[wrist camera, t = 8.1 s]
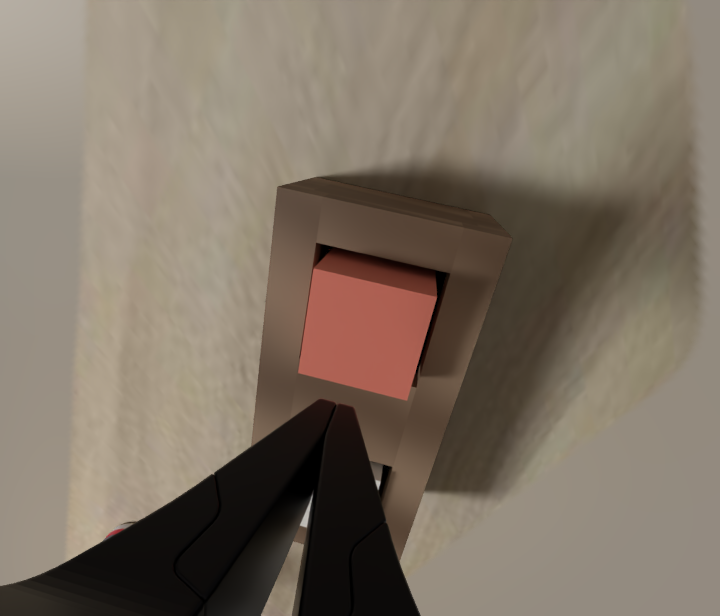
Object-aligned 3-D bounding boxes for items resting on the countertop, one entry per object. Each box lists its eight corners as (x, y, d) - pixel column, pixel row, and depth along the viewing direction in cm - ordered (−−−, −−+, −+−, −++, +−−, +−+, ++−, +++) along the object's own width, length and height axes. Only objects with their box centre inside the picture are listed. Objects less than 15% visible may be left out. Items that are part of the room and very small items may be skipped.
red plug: (412, 338, 18) (406, 400, 14) (329, 318, 19) (298, 373, 14) (434, 256, 17) (437, 297, 12) (343, 236, 17) (313, 268, 12)
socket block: (402, 490, 24) (396, 570, 19) (277, 456, 25) (243, 526, 20) (490, 214, 17) (512, 238, 13) (315, 177, 18) (277, 186, 13)
